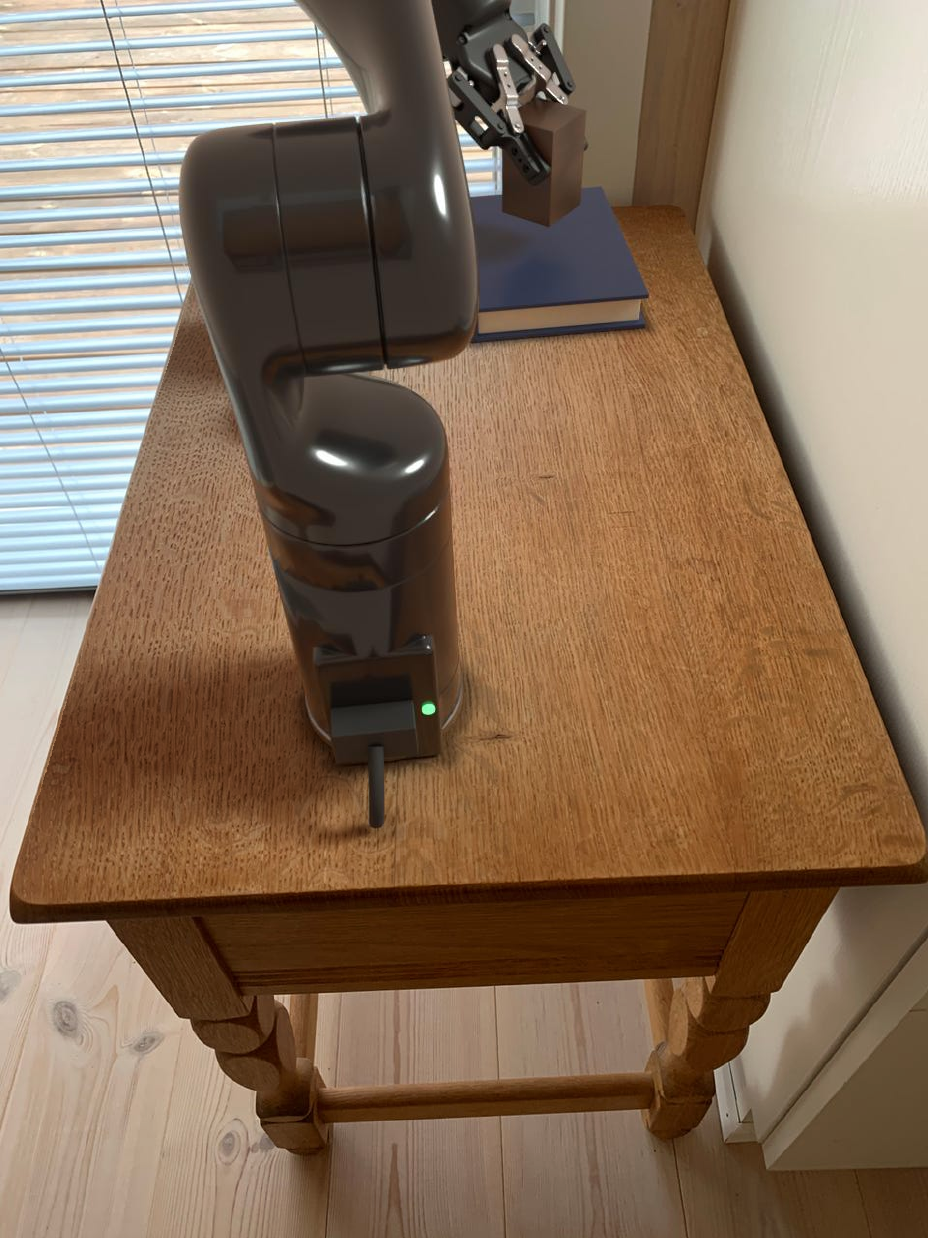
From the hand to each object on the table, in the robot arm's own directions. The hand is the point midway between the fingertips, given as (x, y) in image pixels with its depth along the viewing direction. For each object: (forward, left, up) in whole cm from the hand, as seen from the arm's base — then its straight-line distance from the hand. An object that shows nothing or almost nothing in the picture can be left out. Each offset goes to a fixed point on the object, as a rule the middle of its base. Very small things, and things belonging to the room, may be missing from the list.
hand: (561, 165), depth 83 cm
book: (+1, +1, -11) cm, 11 cm away
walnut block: (+1, +1, -4) cm, 5 cm away
